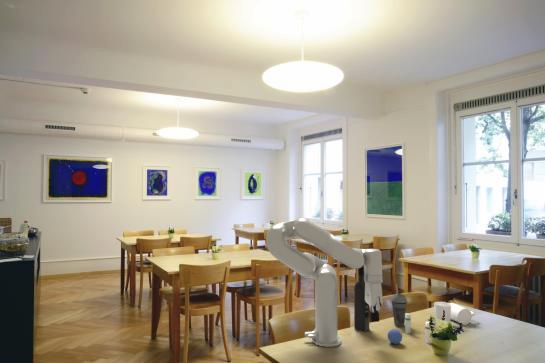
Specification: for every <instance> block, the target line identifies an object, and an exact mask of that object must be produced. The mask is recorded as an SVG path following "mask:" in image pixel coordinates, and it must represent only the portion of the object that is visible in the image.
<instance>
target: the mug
mask: <svg viewBox="0 0 545 363" xmlns="http://www.w3.org/2000/svg"><path fill="white" fill-rule="evenodd" d="M449 304H451V320H452V321H455V322H457V323H459V324H460V323H462V324H461V325H463V326H465V325H468V324H470V322H471V321H472V318H473V317H474V316H475V315H476V314H475V312H474V311H472V310H469V309H468V308H466V307H464V306H462V305H459V304H456V303H454V302H450V303H449Z"/></svg>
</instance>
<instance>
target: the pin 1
mask: <svg viewBox="0 0 545 363" xmlns="http://www.w3.org/2000/svg"><path fill="white" fill-rule="evenodd" d="M411 315H412V314H411V313H407V312H405V323H404V330H405V331H404V333H405V334H410V335H411V333H412V329H411V328H412V327H411V326H412V321H411V319H412V318H411V317H412V316H411Z"/></svg>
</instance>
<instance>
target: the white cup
mask: <svg viewBox="0 0 545 363" xmlns="http://www.w3.org/2000/svg"><path fill="white" fill-rule="evenodd" d="M443 310H444V311H445V320H446V321H449V322H450V323H451V320H452V319H451V304H450V303H449V302H446V301H435V302H433V313H434V319H435V318H437V319H440V320H441V318H442V315H443Z"/></svg>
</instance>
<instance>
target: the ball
mask: <svg viewBox="0 0 545 363" xmlns="http://www.w3.org/2000/svg"><path fill="white" fill-rule="evenodd" d="M387 339H388V341H389V342H390V343H391V344H392V345H393V344H394V345H399V344H400V343H401V342H402V340H403V335H402V332H401V331H400V330H398V329H397V328H392V329H390V330H388V333H387Z"/></svg>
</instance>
